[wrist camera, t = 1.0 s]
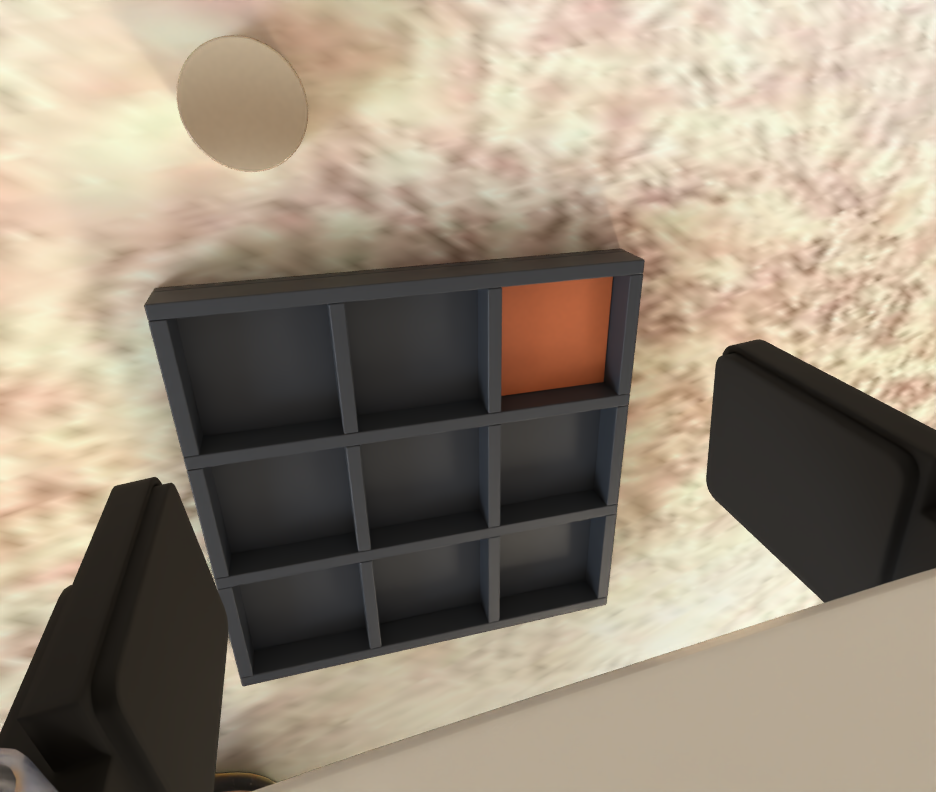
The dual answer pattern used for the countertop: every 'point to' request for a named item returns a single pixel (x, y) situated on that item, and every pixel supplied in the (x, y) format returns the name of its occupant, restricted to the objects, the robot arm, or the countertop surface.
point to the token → (242, 103)
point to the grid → (402, 447)
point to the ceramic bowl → (239, 782)
